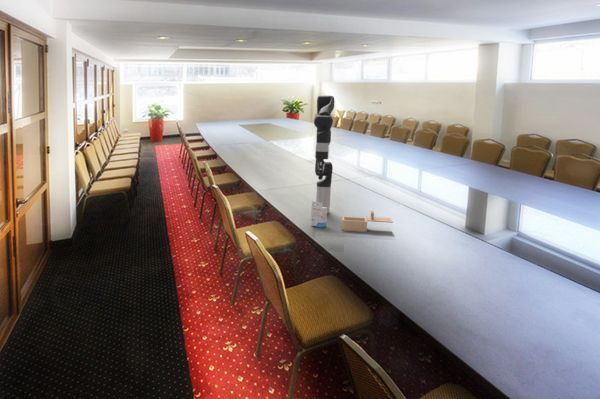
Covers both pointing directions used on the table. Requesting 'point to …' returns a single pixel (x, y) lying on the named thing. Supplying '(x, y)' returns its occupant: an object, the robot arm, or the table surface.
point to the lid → (378, 218)
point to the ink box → (318, 215)
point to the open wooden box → (354, 224)
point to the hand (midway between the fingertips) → (320, 178)
